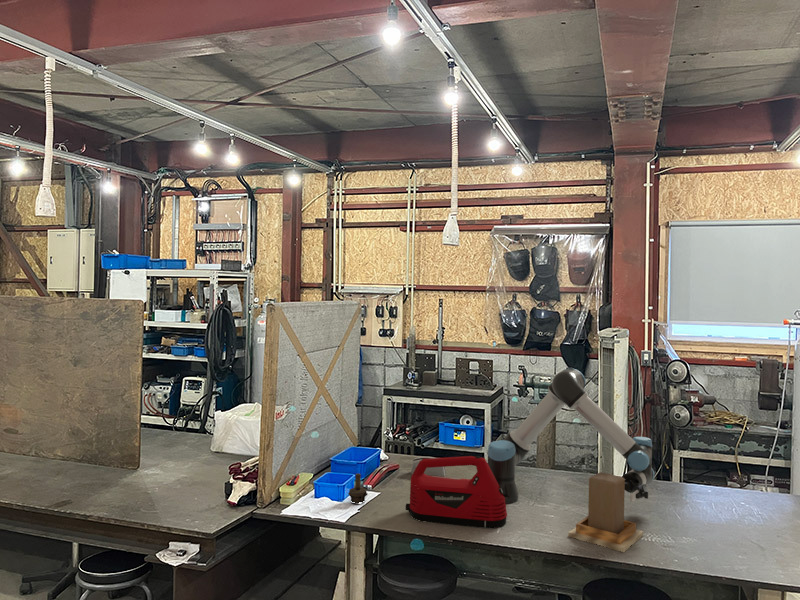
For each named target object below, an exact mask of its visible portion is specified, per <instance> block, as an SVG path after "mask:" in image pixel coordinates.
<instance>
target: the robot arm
mask: <svg viewBox="0 0 800 600" xmlns="http://www.w3.org/2000/svg"><path fill="white" fill-rule="evenodd" d="M585 388H586V378H585V376H584V374H583V373H582V371H579V370H578V369H575V368H572V367H571V368H565V369H563V370H561V371H560V372H558V373H556V374H555V376H554V377H553V379H552V382H551V383H550V384H549V386H548V387H547V389H548V392H547V393H546V395H545V396H544V397H543V398H542V400H540V402H539V403H538V404H537V405H536V406H535V407H534V409H532V411H531V412H530V413H529V414H528V416H527V417H526V418H525V419H524V421H523V422H522V423H521V424H520V425H519V426H518V428H516V429H515V430H510V432H508V433H507V435H506V436H505V437H504V438H503V439H502V440H501V439H500V440H496V441H495V440H493V441H492V442H489V444H488V447H487V463H488V465H489V467H490V469H491V471H492V473H493V475H494V477H495V479H496V481H497V483H498V484H499V487H500V488H501V489H502V491H503V496H504V497H505V504H511V503H515V502H517V501H518V500H519V491H518V487H517V484H516V481H515V478H516V477H515V476H516V474H515V473H516V471H515V470H516V466H517V465H518V464H519V463H521V462H522V461H523V460H524V459H525V457H526V455H527V454H528V453H529V452H530V451H531V449H532V446H531V444H532V443H533V442H534V441H535V440H536V439H537V437H539V435H541V433H542V432H543V430H544V429H545V428H546V426H548V425H549V424H550V422H551V421H552V420H553V419H554V418H555V417H556V416H557V415H558V413H559V412H560V411H561V410H562V408H563V407H564V406H567V407H568V408H569V409H570V410H571V409H573V410H575V411H576V412H577V413H578V415H580V416H581V418H583V419H584V420H585V421H586V422H587V423H588V424H589V425H590V427H593V429H594V430H595V431H596V432H597V433H599V435H601V437H603V439H604V440H606V441H607V442H608V443H609V444H610V445H611V446H612V447H613V448H614V449H615V450H616V451H617V452H618V453H619V454H620V455H621V456H622V457H623V458H624V459H625V460H626V461H627V464H628V465H629V467H630V468H631V470H629V471H628V472H626V473H624V474H623V475H622V476H621V477H623V478H624V479H625V492H628V493H630V497H629V499H630V502H631V503H633V502H635V501H636V500H638V499H643V498H644V499H646V500H647V499H649V491H648V489H647V485H649V484H650V483H652V481H653V480H654V479H655V470H654V469H653V468H652V461H653V460H652V459H653V457H652V455H653V443H652V439H651V438H649V437H645V436H635V437H631V436H630V435H629V434H628V433H627V432H626V431H625V430H624V429H623V428H622V427H620V425H619V424H617V423H616V422H615V421H614V419H612V418H611V417H610V416H609V415H608V414H607V413H606V412H605V411H604V410H603V409H602V408H601V407H600V406H599V405H598V404H597V403H596V402H594V401H593V400H592V399H591V398H590V397H589V396H588V392H587V390H585Z"/></svg>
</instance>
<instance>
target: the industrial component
mask: <svg viewBox="0 0 800 600" xmlns="http://www.w3.org/2000/svg"><path fill="white" fill-rule="evenodd" d="M361 477H362V475H361V473H355V483H354V485H355V486H354V487H352V488H349V489H348V492H347V494H348V496H349V497H350V502H351V501H352V502H355V503H359V502H363V501H365V502H366V497H367V496H368V493H367V489H366V488H364V487H361V484H362V483H361V481H362V478H361Z"/></svg>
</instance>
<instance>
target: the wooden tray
mask: <svg viewBox="0 0 800 600" xmlns="http://www.w3.org/2000/svg"><path fill="white" fill-rule="evenodd" d="M567 534H568V536H569V538H572V539H575V538H576V539H575V540H579V541H582V542H586V541H587V542H586V543H589V542H590V543H589V544H593V545H596V544H597V546H599V545H601V546H600V547H603V546H604V548H606V547H608V548H607V549H611V550H613V551H617V552H620V551H621V552H620V553H625V552H626V551H627V550H628V549H630V548H631V547H632V546H633V545H634V544H635V543H637V542H638V540H640V539H641V538H642V537H643V536H644V531H643V530H640V529H637V523H636V522H633V521H629V520H625V519H624V530H623V531H622V532H621V533H620V534H615V533H611V532H608V531H604V530H600V529H597V528H593V527H589V526H588V515H587V516H586V517H585V518H582V520H579V522H577V523H575V527H574V528H573V529H571V530H569V531H568V533H567ZM568 536H567V537H568ZM631 545H632V546H631ZM630 546H631V547H630Z"/></svg>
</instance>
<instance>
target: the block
mask: <svg viewBox="0 0 800 600" xmlns="http://www.w3.org/2000/svg"><path fill="white" fill-rule="evenodd" d="M625 492H626V491H625V479H624V478H623V477H622V476H620V475H619V476H618V475H614V474H610V473H606V472H598V473H596V474H594V475H591V476H590V477H589V478H588V505H587V506H588V512H587V516H588V526H589V527H593V528H597V529H600V530H604V531H608V532H611V533H615V534H620V533H621V532H622V531H623V530H624V520H625V494H626V493H625Z"/></svg>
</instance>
